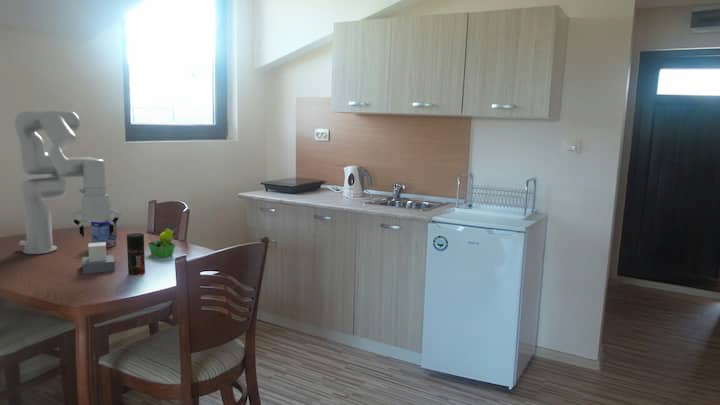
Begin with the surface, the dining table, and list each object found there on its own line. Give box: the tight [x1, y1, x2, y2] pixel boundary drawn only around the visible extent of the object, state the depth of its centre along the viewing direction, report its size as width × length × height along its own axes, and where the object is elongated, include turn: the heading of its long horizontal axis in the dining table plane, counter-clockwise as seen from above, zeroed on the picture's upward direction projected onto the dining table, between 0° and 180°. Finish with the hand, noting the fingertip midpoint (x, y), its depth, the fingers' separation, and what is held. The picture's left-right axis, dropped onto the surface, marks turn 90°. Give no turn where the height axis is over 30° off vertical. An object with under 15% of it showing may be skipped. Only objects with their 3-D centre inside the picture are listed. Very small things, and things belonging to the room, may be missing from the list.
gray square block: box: [81, 254, 116, 275], centre depth 206 cm, size 11×11×4 cm
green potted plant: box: [147, 228, 176, 259], centre depth 227 cm, size 11×9×11 cm
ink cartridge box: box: [90, 218, 118, 248], centre depth 238 cm, size 10×6×14 cm, turn 158°
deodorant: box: [126, 232, 146, 276], centre depth 200 cm, size 6×6×15 cm
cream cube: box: [88, 242, 107, 262], centre depth 205 cm, size 6×6×6 cm
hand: (97, 235), depth 204 cm, fingers open, 9 cm apart
